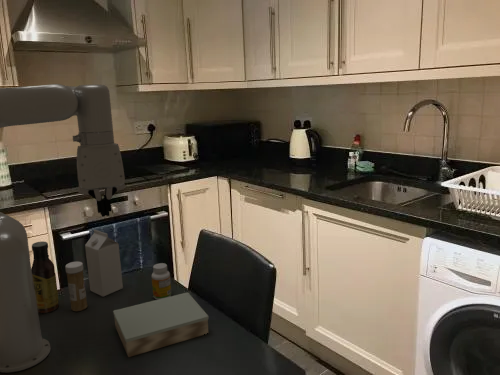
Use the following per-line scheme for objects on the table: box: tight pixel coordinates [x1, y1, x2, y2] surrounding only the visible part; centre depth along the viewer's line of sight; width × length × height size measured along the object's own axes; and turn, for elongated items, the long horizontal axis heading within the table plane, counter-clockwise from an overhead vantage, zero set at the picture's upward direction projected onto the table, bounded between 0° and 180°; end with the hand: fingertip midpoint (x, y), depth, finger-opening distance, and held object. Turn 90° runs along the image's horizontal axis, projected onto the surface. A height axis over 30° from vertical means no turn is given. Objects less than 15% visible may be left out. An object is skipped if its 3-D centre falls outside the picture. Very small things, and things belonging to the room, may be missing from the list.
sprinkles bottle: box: [65, 261, 88, 312], centre depth 124 cm, size 5×5×13 cm
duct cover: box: [112, 292, 209, 342], centre depth 111 cm, size 20×15×1 cm
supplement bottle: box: [151, 262, 172, 300], centre depth 130 cm, size 5×5×10 cm
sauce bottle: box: [31, 241, 59, 314], centre depth 123 cm, size 7×6×20 cm
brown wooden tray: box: [113, 315, 209, 358], centre depth 112 cm, size 20×15×4 cm
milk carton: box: [84, 229, 124, 297], centre depth 134 cm, size 7×7×19 cm
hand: (104, 214), depth 106 cm, fingers closed
